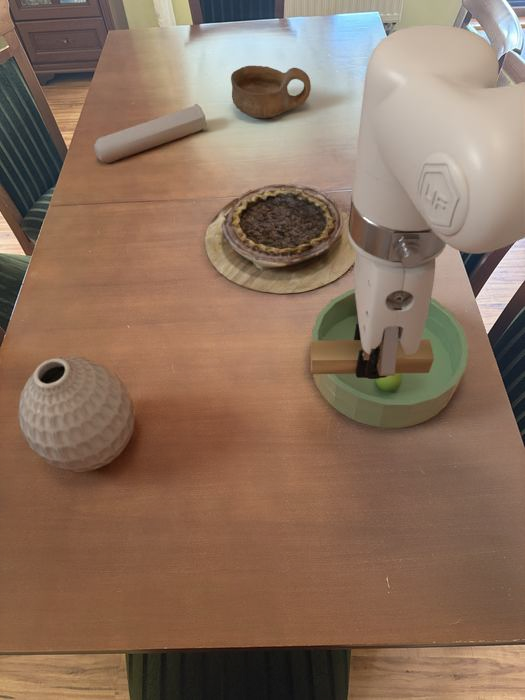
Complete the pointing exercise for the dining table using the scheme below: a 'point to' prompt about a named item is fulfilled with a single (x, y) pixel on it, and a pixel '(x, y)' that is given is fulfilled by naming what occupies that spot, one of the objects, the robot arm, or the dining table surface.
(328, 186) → the dining table surface
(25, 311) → the dining table surface
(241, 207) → the pie
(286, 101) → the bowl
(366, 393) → the mixing bowl
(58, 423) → the vase
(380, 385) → the grape
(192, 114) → the tube
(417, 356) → the stick
